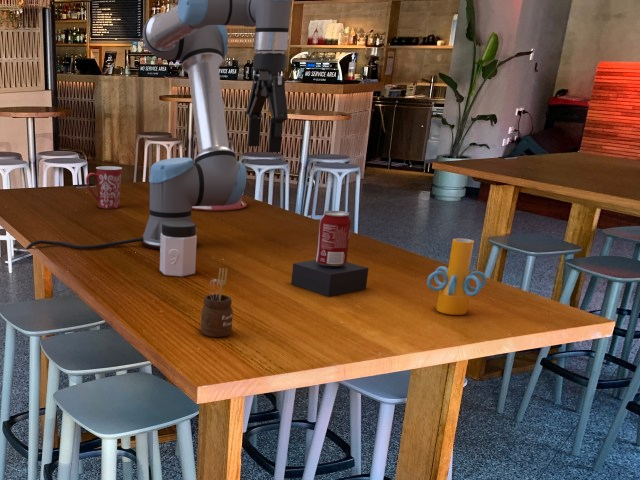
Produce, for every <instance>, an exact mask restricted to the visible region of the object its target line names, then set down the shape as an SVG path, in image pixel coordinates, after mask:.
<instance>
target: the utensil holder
mask: <svg viewBox="0 0 640 480" xmlns="http://www.w3.org/2000/svg"><path fill="white" fill-rule="evenodd" d="M217 277H218V279H217V278H214V279H211V280H210V281H209V283H208V285H211V284H213V283H215V282H216V285H218V286H220V288H219V293H218V291H216V293H215V294H214V291H215V290H214V288H215V285H212V291H208V293H209V294H208V295H205V296H204V298H203V304H204V305H202V307H201V314H200V332H201V334H202V335H204V336H206V337H210V338H224V337H228V336H230V335H231V333H232V330H233V315H234V313H233V311H234V310H233V308H232V306H231V305H232V298H231V296H229V295H227V294H222V293H223V287H224V286H225V285H227V278H228V268H224V267H219V270H218V276H217ZM211 292H212V293H211Z"/></svg>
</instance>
